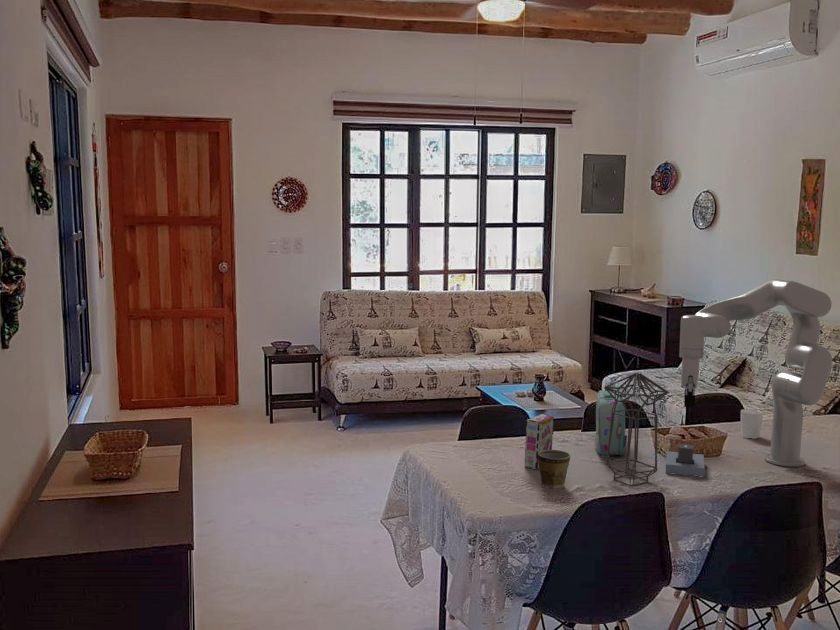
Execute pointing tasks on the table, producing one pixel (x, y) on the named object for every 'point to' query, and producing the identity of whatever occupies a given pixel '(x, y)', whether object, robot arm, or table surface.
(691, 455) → the block
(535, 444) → the candy bar box
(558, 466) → the ceramic cup
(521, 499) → the table surface
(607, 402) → the lunch box
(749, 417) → the white cup
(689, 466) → the outlet plate
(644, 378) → the geometric lantern
